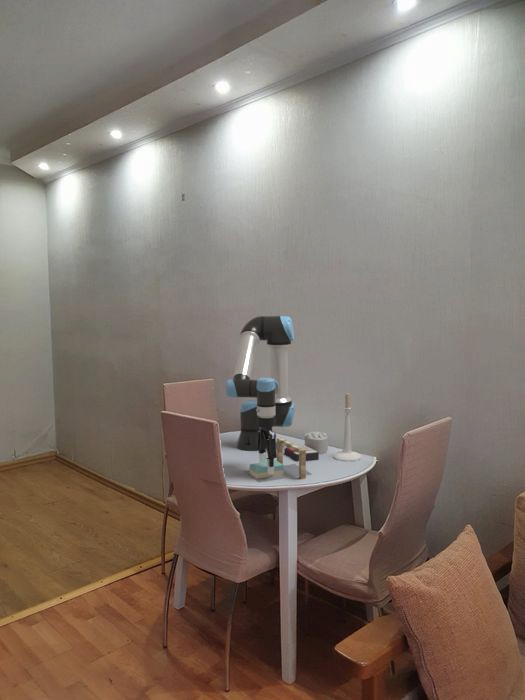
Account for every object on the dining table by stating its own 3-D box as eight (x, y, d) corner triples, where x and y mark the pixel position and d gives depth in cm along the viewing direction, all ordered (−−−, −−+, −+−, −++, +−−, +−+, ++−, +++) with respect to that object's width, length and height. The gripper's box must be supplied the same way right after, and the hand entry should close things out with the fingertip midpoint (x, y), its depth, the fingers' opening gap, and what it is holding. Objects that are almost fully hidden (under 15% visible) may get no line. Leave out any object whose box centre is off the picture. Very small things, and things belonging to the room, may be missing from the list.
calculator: (305, 444, 251) (318, 450, 237) (305, 453, 251) (319, 460, 237) (284, 446, 247) (296, 453, 233) (284, 455, 247) (296, 462, 233)
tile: (249, 473, 216) (249, 464, 216) (276, 469, 221) (276, 460, 220) (256, 478, 209) (256, 468, 209) (283, 474, 214) (283, 465, 214)
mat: (243, 471, 220) (243, 471, 220) (294, 464, 229) (294, 463, 229) (258, 483, 205) (258, 482, 205) (312, 475, 215) (312, 474, 215)
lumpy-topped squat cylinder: (323, 447, 259) (323, 429, 258) (331, 454, 246) (331, 435, 246) (302, 448, 257) (302, 430, 257) (309, 455, 245) (309, 436, 244)
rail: (276, 464, 230) (276, 438, 229) (280, 464, 230) (280, 437, 230) (301, 480, 209) (301, 450, 208) (305, 479, 209) (305, 450, 208)
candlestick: (333, 461, 234) (333, 394, 232) (333, 453, 247) (333, 390, 245) (362, 461, 233) (362, 395, 231) (360, 454, 245) (361, 390, 243)
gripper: (248, 412, 221) (248, 466, 223) (267, 421, 203) (268, 479, 204) (264, 411, 224) (265, 463, 226) (285, 419, 206) (285, 477, 207)
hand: (266, 471), depth 215 cm, fingers closed on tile, 7 cm apart
